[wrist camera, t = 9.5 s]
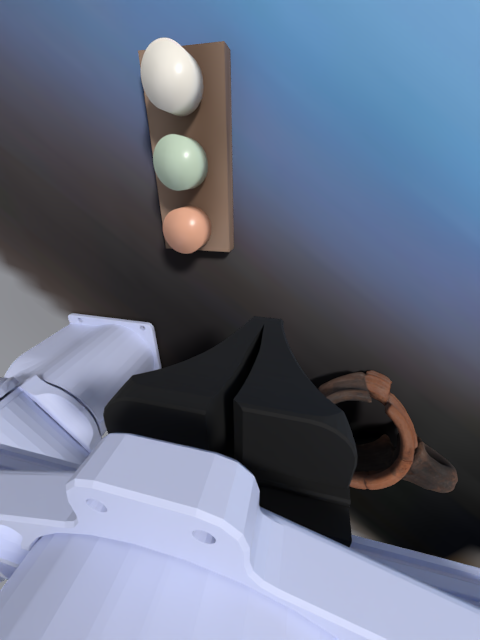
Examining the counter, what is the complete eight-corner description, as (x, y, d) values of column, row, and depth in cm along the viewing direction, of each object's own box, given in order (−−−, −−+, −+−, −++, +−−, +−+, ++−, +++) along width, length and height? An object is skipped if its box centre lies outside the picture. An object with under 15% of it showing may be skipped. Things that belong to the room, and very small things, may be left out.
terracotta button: (176, 246, 20) (165, 252, 18) (171, 205, 18) (159, 208, 17) (212, 248, 19) (204, 254, 18) (210, 206, 18) (201, 209, 16)
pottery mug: (299, 431, 29) (280, 468, 21) (326, 349, 28) (316, 357, 21) (425, 490, 25) (457, 564, 17) (462, 394, 24) (513, 427, 16)
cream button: (160, 117, 16) (146, 112, 14) (152, 52, 14) (136, 40, 13) (205, 115, 15) (194, 110, 14) (201, 47, 14) (189, 34, 12)
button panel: (172, 244, 21) (166, 248, 20) (149, 58, 16) (138, 50, 15) (233, 247, 20) (229, 251, 19) (230, 49, 15) (224, 41, 14)
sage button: (169, 188, 18) (157, 190, 16) (162, 137, 16) (149, 134, 15) (209, 189, 17) (200, 190, 16) (206, 136, 16) (196, 133, 14)
